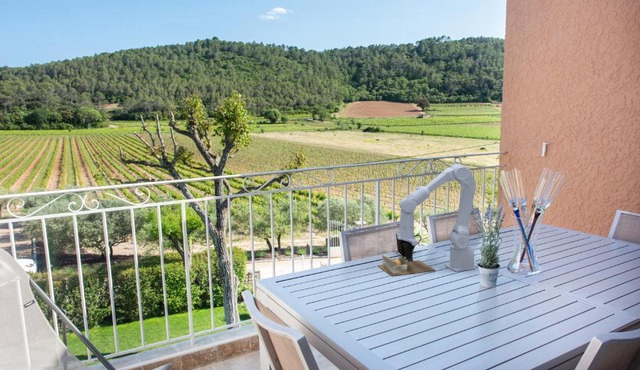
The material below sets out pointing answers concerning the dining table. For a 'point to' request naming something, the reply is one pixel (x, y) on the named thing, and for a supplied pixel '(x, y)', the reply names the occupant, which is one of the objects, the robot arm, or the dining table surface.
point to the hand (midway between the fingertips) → (406, 257)
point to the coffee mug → (398, 244)
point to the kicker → (405, 260)
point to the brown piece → (403, 267)
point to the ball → (397, 262)
